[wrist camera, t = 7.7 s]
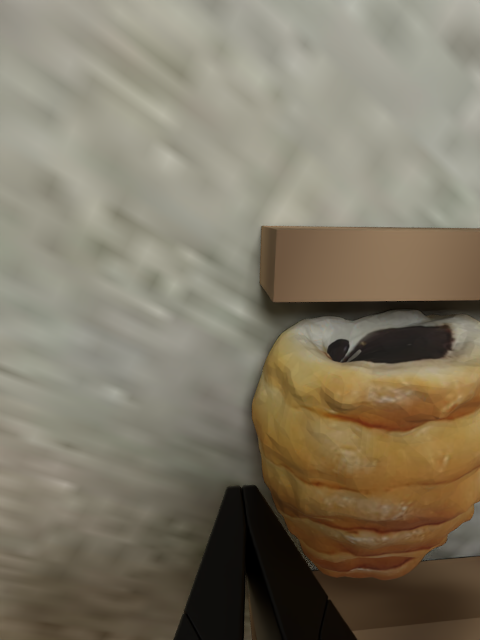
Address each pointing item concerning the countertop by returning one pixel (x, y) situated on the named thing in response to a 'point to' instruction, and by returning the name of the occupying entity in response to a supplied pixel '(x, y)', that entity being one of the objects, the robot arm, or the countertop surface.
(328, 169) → the countertop surface
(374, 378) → the pastry
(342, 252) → the frame
